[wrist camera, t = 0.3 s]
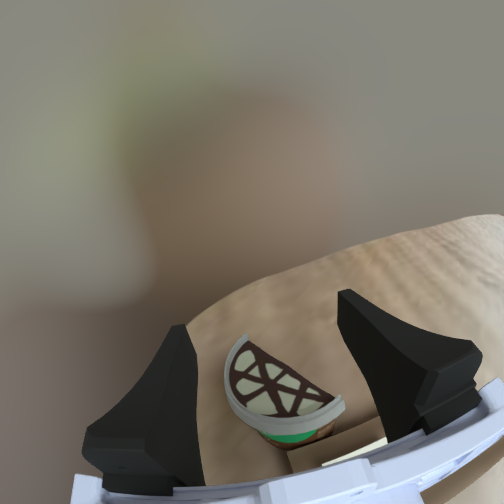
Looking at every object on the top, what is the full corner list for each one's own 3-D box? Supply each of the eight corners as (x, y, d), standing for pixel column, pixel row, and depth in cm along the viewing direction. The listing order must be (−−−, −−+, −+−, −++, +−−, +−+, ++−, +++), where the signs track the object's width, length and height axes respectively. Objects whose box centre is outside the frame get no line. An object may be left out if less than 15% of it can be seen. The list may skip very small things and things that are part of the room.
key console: (502, 455, 15) (515, 445, 13) (324, 557, 13) (323, 559, 12) (452, 383, 25) (459, 368, 24) (290, 460, 24) (286, 452, 22)
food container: (224, 415, 30) (192, 367, 25) (262, 384, 33) (242, 329, 28) (301, 482, 21) (289, 455, 16) (342, 440, 24) (346, 397, 19)
